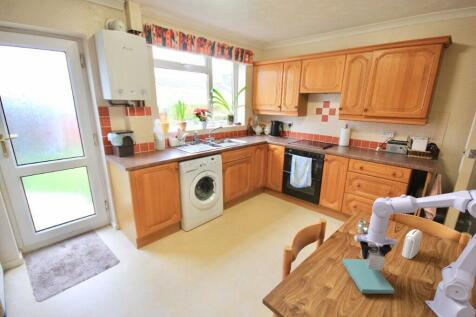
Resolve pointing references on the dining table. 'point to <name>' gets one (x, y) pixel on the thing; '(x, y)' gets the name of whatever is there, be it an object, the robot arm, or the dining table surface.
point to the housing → (374, 257)
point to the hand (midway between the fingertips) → (371, 258)
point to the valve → (362, 227)
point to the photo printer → (411, 244)
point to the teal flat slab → (367, 277)
